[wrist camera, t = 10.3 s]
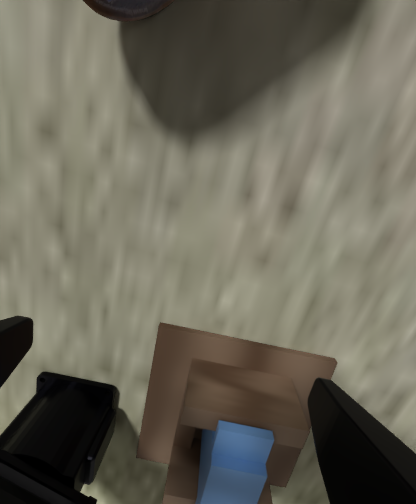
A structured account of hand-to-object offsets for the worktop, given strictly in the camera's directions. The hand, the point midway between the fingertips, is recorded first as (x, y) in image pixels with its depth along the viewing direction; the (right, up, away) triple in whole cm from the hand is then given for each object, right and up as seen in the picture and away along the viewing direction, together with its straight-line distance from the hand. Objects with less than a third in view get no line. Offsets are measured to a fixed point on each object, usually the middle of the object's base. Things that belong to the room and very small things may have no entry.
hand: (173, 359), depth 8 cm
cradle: (+3, -10, +14) cm, 18 cm away
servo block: (+3, -10, +14) cm, 17 cm away
